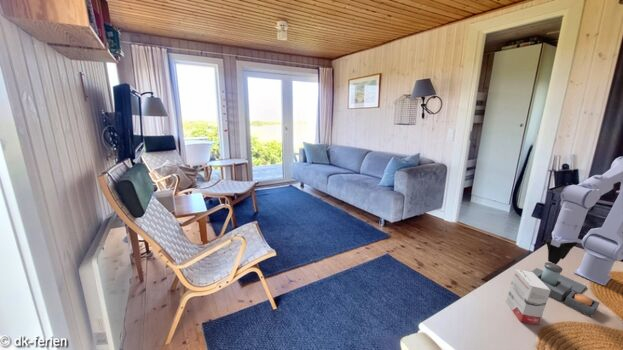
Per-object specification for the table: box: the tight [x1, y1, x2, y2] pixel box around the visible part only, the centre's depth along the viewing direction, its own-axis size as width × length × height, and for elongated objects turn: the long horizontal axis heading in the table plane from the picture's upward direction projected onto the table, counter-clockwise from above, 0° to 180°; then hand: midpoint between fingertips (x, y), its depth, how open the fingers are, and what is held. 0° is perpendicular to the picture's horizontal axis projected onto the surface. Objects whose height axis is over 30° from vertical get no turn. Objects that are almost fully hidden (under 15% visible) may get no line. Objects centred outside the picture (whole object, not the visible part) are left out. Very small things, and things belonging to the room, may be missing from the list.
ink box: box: [505, 268, 551, 326], centre depth 75 cm, size 9×5×12 cm, turn 168°
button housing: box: [564, 290, 600, 318], centre depth 80 cm, size 6×6×2 cm
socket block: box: [530, 267, 573, 302], centre depth 88 cm, size 10×10×2 cm
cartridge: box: [540, 261, 563, 287], centre depth 88 cm, size 4×4×8 cm
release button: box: [574, 293, 593, 307], centre depth 80 cm, size 4×4×2 cm
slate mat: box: [559, 274, 587, 294], centre depth 90 cm, size 7×7×1 cm
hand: (555, 260), depth 86 cm, fingers open, 5 cm apart
